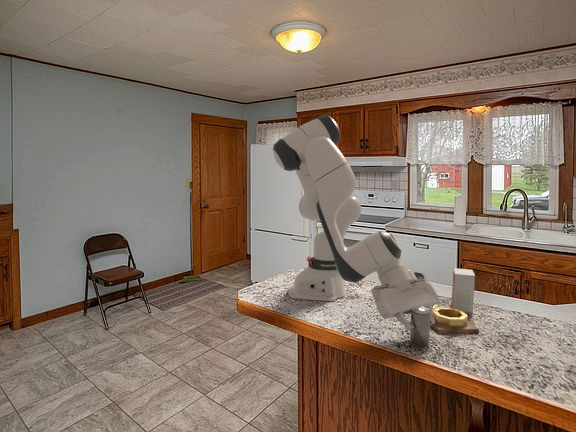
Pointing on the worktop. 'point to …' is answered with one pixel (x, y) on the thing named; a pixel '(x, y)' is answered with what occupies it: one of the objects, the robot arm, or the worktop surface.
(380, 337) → the worktop surface
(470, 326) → the board
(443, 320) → the ring
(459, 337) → the worktop surface
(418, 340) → the grey metal cylinder
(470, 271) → the small box
